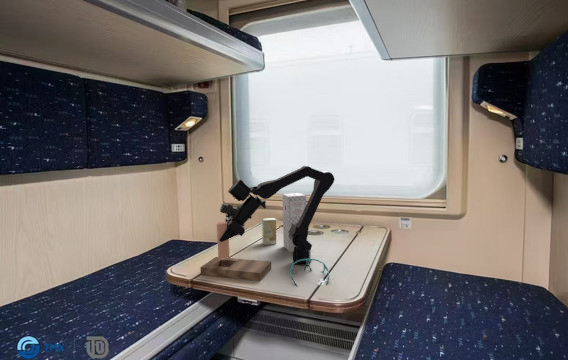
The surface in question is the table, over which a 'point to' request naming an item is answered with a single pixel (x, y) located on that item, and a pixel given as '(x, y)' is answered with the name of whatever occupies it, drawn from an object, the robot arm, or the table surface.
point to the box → (291, 214)
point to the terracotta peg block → (223, 246)
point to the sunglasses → (309, 267)
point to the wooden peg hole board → (236, 268)
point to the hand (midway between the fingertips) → (219, 239)
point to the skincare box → (268, 231)
